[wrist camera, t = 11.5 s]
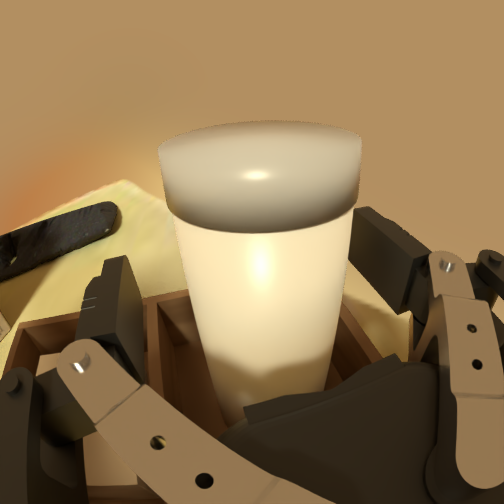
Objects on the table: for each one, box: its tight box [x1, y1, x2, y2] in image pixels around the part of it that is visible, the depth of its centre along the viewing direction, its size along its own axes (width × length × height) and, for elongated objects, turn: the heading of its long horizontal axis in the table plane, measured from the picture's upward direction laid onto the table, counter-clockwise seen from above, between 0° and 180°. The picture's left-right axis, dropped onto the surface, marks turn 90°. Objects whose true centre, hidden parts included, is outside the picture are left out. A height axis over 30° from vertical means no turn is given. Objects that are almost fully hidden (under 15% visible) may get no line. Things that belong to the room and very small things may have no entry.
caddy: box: [2, 289, 383, 504], centre depth 13 cm, size 20×13×5 cm, turn 105°
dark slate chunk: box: [0, 201, 117, 281], centre depth 35 cm, size 15×22×5 cm
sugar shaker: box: [158, 121, 362, 428], centre depth 11 cm, size 5×5×14 cm
